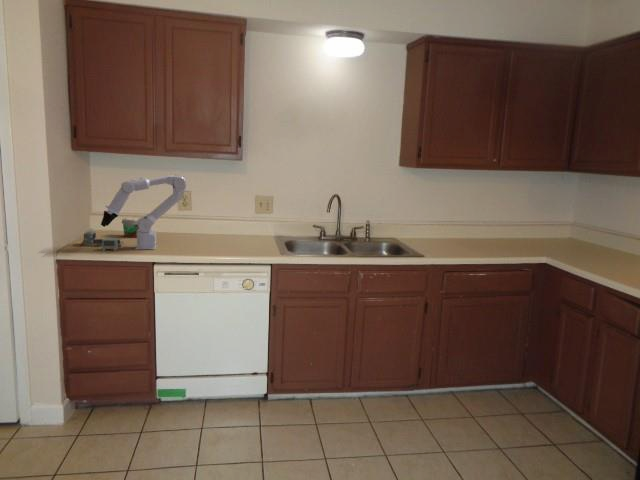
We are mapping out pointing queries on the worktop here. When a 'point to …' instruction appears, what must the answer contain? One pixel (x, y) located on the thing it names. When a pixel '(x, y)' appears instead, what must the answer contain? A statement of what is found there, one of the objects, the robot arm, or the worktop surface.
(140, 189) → the robot arm
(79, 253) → the worktop surface
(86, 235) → the rail base
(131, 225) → the food container
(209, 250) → the worktop surface
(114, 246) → the block
